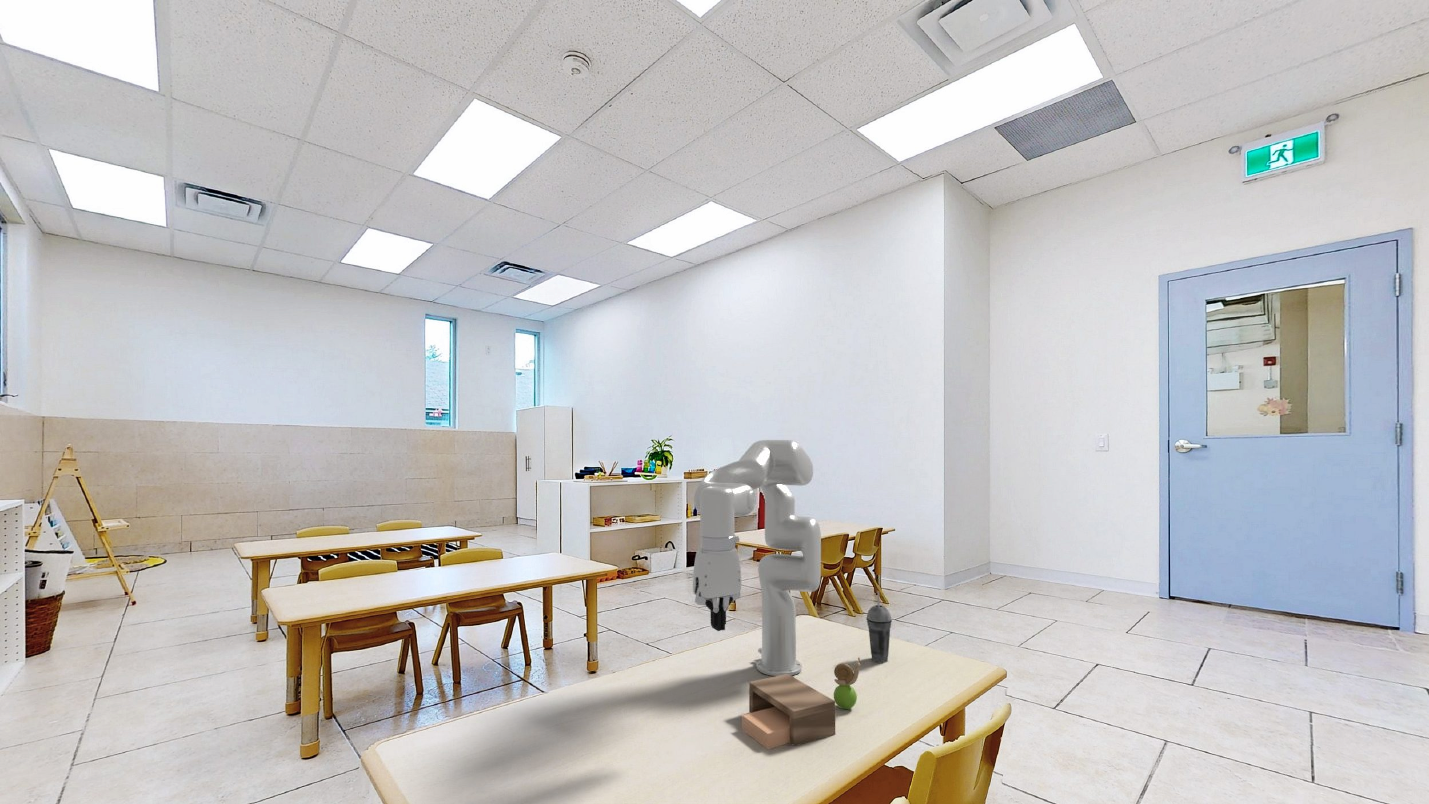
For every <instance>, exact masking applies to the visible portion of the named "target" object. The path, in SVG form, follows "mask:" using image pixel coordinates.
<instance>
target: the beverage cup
mask: <svg viewBox="0 0 1429 804" xmlns="http://www.w3.org/2000/svg"><path fill="white" fill-rule="evenodd" d="M876 595H877V604H875V605H873V606H871V607H870V608H869V610H868V611H867V613H866V614H867V615H866V623H867V626H868V636H869V647H870V654H871V660H872V661H873V662H876V663H880V664H881V663H887V662H889V661H888V660H889V659H888V658H889V652H890V651H889V650H890V636H891V627H892V622H893V620H892V616H891V613H890V610H889V609H887V607H886V606H883V605H881V604H880V590H877V594H876Z"/></svg>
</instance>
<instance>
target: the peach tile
mask: <svg viewBox="0 0 1429 804" xmlns="http://www.w3.org/2000/svg"><path fill="white" fill-rule="evenodd" d="M741 726H742V727H741V729H742V731H743V732H745V733H746V734H748V735H749V737H752V738H753V739H754V740H756V741H757V742H758V743H759V744H760V745H762V746H763V747H765V748H766V749H768V750H770V749H772V748H776V747H779V746H784V745H786V744H791V743H790V716H789V715H787V714H786V713H784V712H783V711H781V710H780V709H778V708H777V707H772V708H768V709H764V710H760V711H756V712H753V713H746V714H742V715H741Z"/></svg>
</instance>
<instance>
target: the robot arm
mask: <svg viewBox="0 0 1429 804" xmlns="http://www.w3.org/2000/svg"><path fill="white" fill-rule="evenodd" d="M813 476H814V466H813V462H812V460H811V458H810V456H809V455H808V454H807V452H806V450H804V448H803V447H802V446H801V445H800V444H799V443H797V442H796V441H794V440H792V439H762V440H757V441H755V442H753V443H752V444H751V445H750V446H749V448H747V450H746V451H745V452H744V454H743V455H742V456H741V457H740V458H739V460H737V461H733V462H731V463H728V464H726V465H723V466H720V467H718V468H715V469H714V470H712V471H709V473H707V474H706V475H705V476H704V477H703V478H702V480H701V481H700V482H699V483H698V485H697V487H696V488H695V491H694V493H693V494H694V495H693V505H694V508H695V509H696V511H698V512H699V513H700V514H699V515H700V517H699V518H700V519H699V520H700V521H699V523H700V525H699V526H700V527H699V529H700V544H699V545H700V549H698V550H696V553H695V557H694V565H693V572H692V573H693V575H692V577H693V578H692V592H693V595H695V599H694V603H695V604H696V605H700V606H706V607H707V609H708V610H710V613H709V614H710V626H711V628H712V629H714V630H716V631H717V632H720V631H725V630H726V625H727V611H728V610H729V606H730V605H731V604H732V603H733V601H736V600H739V599H740V598H741V595H742V594H741V591H742V571H741V563H740V558H739V557H740V556H739V551H738V549H737V548H736V544H737V543H739V542H740V537H739V536H738V535H736V534H735V530H736V529H735V528H736V527H735V517H739V518H740V517H741V518H742V517H745V516H748V515H750V514H751V513H752V512H753V511H754V509H755V506H756V504H757V496H756V492H755V490H757V489H759V488H760V489H761V492H762V493H763V497H764V539H765V543H766V546H767V547H769V548H771V549H773V550H774V549H775V550H784V551H795V552H801V553H802V555H792V554H781V553H771V554H767V555H764V556H763V557H762V558H761V559H760V560H759V562H758V565H757V566H758V568H757V571H758V578H759V584H760V593H761V594H760V595H761V647H759V648H758V650H757V652H758V653H759V654H760V658H761V659H759V660H758V661H757V662H756V669H757V671H758V672H760V673H762V674H764V675H767V676H770V677H775V676H780V675H784V674H789V675H791V676H795V675H797V674H799V673H800V672H801V671H802V668H803V666H802V663H801V662H800V661H799V660H797V621H796V620H797V618H796V617H797V615H796V612H797V611H796V610H797V609H796V607H797V606H796V603H795V600H794V598H793V595H791V593H790V591H794V592H795V591H796V592H806V593H808V592H809V593H813V592H815V591H817V590H818V589H819V587H820V583H821V576H822V572H821V571H822V568H821V567H822V564H821V563H822V536H821V535H822V533H821V527H820V524H819V522H818V521H817V519H815V518H813V517H810V516H799V515H798V516H797V515H796V514H795V507H796V505H795V504H796V503H795V502H796V501H795V496H794V495H793V493H792V491H791V489H790V488H789V486H798V487H799V486H801V487H802V486H806V485H808V484H810V483H811V481H812V480H813Z"/></svg>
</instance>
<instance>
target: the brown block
mask: <svg viewBox="0 0 1429 804" xmlns="http://www.w3.org/2000/svg"><path fill="white" fill-rule="evenodd" d="M748 685H749V686H748V688H749V690H748V697H749V699H748V700H749V701H748V705H749V706H748V709H749V710H748V711H749V713H753V712H756V711H760V710H764V709H768V708H772V707H777V708H778V709H780V710H781V711H783V712H784V713H786V714H787V715H789V716H790V743H789V744H790V745H792V746H793V747H795V746H798V745H803V744H806V743H810V742H813V741H817V740H819V739H824V738H827V737H830V736H834V735H836V702H835V700H834V699H832V698H830V697H828V696H827V695H825V694H823V693H822V692H820V691H819V690H817V689H814V688H813V687H811V686H809V685H808V684H807V683H804V682H803V681H801V680H799V679H797V678H796V677H794V676H793V675H789V674H784V675H780V676H770V677H767V678H762V679H761V678H760V679H757V680H752V681H749V682H748ZM749 713H748V714H749Z"/></svg>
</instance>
